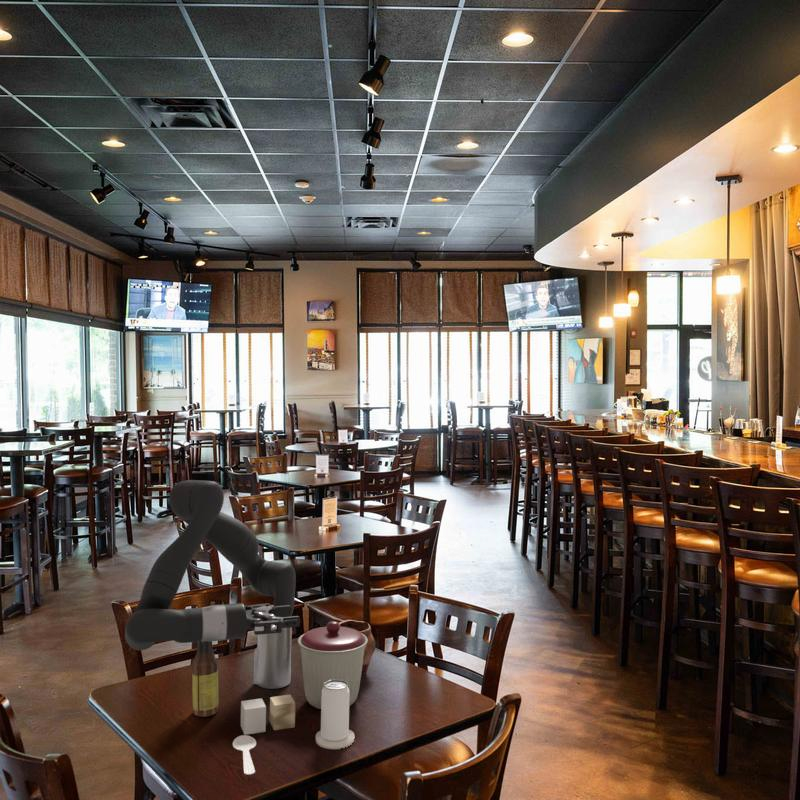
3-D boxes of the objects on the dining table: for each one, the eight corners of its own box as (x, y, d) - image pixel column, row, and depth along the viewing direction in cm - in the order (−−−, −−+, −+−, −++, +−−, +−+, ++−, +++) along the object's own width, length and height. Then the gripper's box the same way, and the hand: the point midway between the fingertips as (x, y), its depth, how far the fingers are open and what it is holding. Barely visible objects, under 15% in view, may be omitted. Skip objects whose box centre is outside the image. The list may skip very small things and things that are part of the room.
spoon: (237, 777, 154) (237, 775, 154) (231, 738, 171) (231, 736, 171) (262, 774, 155) (262, 772, 155) (254, 735, 173) (254, 733, 173)
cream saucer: (309, 745, 168) (309, 741, 168) (325, 728, 176) (325, 724, 176) (345, 752, 165) (345, 747, 165) (360, 734, 174) (360, 730, 174)
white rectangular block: (244, 735, 172) (244, 709, 172) (240, 725, 177) (241, 701, 177) (265, 731, 174) (266, 706, 174) (261, 722, 179) (261, 698, 179)
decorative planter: (388, 682, 205) (389, 633, 205) (348, 690, 199) (349, 639, 199) (357, 659, 223) (358, 613, 222) (319, 665, 217) (320, 618, 217)
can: (344, 743, 167) (345, 691, 167) (316, 740, 168) (318, 688, 168) (351, 731, 173) (352, 680, 173) (325, 728, 175) (326, 677, 174)
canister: (282, 702, 190) (283, 621, 190) (332, 682, 204) (334, 607, 204) (330, 724, 179) (332, 638, 178) (380, 702, 192) (382, 621, 192)
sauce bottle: (223, 709, 185) (224, 631, 185) (209, 720, 180) (210, 639, 179) (200, 705, 188) (202, 628, 187) (186, 715, 182) (187, 635, 181)
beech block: (274, 730, 175) (274, 705, 175) (269, 721, 180) (270, 697, 180) (294, 727, 177) (295, 702, 177) (289, 718, 181) (290, 694, 181)
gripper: (227, 614, 154) (303, 607, 160) (218, 596, 167) (288, 590, 173) (227, 650, 154) (302, 642, 160) (217, 629, 167) (287, 622, 173)
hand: (295, 615), depth 167 cm, fingers open, 8 cm apart
